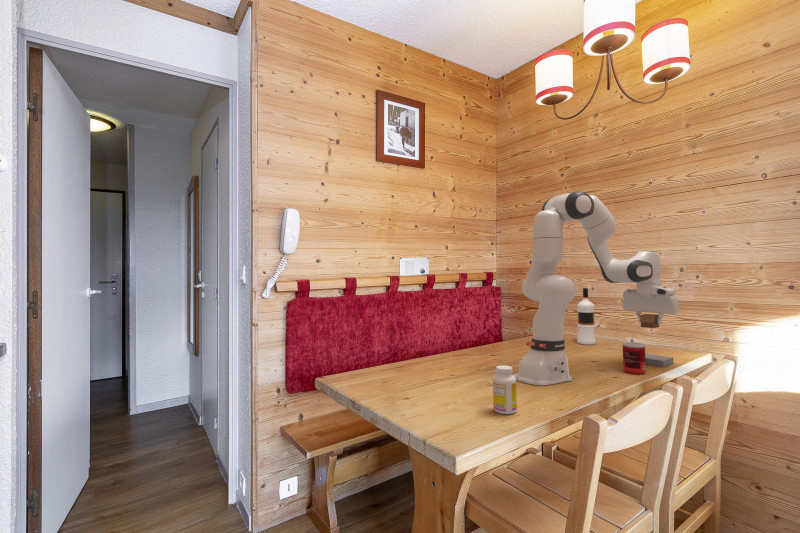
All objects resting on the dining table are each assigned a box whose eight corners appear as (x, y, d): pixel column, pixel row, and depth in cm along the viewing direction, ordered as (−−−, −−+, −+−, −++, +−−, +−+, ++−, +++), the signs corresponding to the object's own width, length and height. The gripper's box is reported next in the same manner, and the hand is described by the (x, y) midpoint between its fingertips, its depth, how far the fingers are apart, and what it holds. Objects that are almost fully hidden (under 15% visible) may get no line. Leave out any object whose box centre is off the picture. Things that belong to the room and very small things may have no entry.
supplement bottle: (512, 406, 120) (512, 364, 120) (520, 414, 113) (519, 369, 113) (490, 407, 120) (490, 364, 120) (496, 415, 113) (496, 370, 113)
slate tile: (663, 367, 163) (663, 361, 163) (637, 362, 171) (637, 356, 171) (673, 363, 169) (673, 357, 169) (647, 359, 177) (647, 353, 177)
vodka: (574, 341, 219) (573, 287, 219) (591, 341, 218) (591, 287, 219) (580, 345, 210) (579, 288, 210) (598, 345, 209) (597, 288, 209)
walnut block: (654, 328, 161) (653, 316, 161) (640, 327, 165) (640, 315, 165) (659, 326, 164) (658, 314, 164) (646, 325, 168) (645, 313, 168)
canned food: (639, 369, 160) (638, 342, 160) (649, 375, 152) (649, 346, 152) (619, 369, 161) (618, 342, 161) (628, 374, 153) (628, 346, 153)
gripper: (619, 289, 171) (620, 321, 171) (673, 291, 155) (674, 326, 155) (626, 288, 175) (627, 319, 175) (679, 290, 158) (681, 324, 158)
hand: (649, 323), depth 165 cm, fingers closed on walnut block, 5 cm apart
